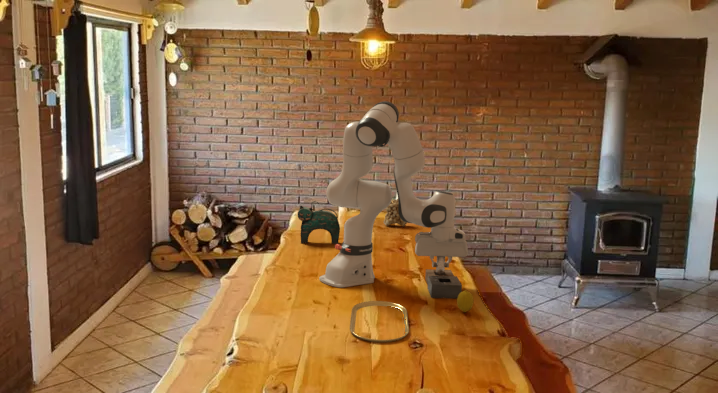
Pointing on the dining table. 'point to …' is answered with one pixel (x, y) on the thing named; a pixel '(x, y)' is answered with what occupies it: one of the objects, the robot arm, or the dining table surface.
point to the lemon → (465, 301)
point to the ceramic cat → (318, 223)
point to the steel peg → (440, 265)
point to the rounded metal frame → (377, 303)
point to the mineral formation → (393, 214)
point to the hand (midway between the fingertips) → (440, 267)
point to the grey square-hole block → (444, 286)
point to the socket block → (433, 273)
